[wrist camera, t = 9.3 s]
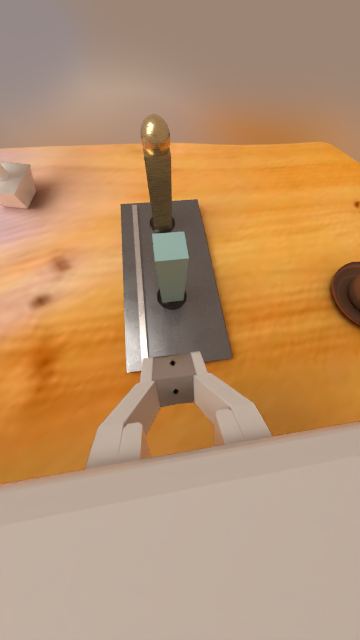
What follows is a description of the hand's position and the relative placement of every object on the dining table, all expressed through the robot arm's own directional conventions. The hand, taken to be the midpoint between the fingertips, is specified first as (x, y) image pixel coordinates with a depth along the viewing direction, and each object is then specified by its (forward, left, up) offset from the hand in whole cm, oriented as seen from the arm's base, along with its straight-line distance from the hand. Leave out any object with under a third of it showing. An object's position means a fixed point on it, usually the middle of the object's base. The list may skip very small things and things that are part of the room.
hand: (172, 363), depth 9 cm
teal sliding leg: (+10, -1, -12) cm, 16 cm away
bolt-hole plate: (+15, -1, -14) cm, 21 cm away
